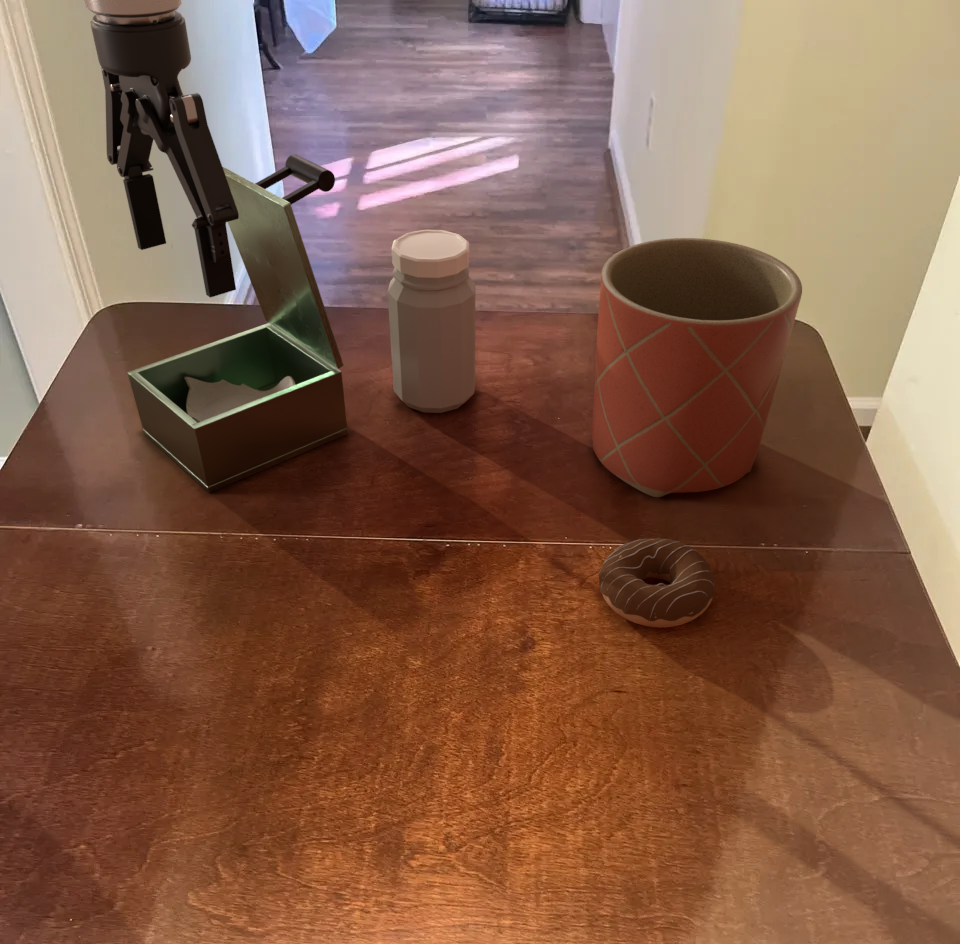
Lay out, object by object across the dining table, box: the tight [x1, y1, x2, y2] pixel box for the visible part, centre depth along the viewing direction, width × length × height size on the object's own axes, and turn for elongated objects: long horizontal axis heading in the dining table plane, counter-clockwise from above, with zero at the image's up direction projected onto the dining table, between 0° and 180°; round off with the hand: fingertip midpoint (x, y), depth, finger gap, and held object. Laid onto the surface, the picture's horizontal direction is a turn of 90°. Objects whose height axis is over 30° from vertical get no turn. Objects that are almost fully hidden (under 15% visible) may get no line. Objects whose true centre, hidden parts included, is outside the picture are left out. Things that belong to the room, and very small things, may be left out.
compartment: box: [127, 322, 348, 494], centre depth 108 cm, size 18×15×8 cm
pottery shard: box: [184, 376, 295, 423], centre depth 109 cm, size 10×11×5 cm
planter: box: [591, 237, 803, 498], centre depth 101 cm, size 19×19×20 cm
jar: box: [387, 229, 476, 414], centre depth 110 cm, size 10×10×18 cm
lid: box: [222, 153, 344, 370], centre depth 103 cm, size 18×15×8 cm
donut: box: [597, 537, 716, 629], centre depth 90 cm, size 11×11×4 cm
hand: (185, 268), depth 95 cm, fingers open, 13 cm apart
